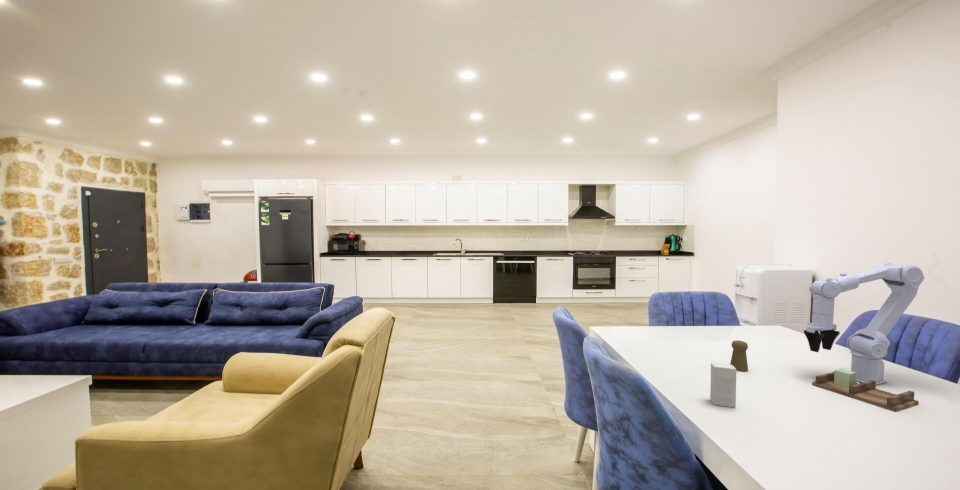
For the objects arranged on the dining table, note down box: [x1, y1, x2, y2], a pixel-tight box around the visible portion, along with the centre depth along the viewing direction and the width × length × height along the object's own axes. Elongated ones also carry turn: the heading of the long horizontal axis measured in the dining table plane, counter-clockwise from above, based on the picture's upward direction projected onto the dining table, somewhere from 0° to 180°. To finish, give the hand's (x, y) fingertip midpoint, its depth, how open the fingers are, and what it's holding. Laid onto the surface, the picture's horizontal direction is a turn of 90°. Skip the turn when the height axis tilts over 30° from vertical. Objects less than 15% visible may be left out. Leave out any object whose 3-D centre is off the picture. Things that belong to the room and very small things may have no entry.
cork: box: [729, 340, 749, 373], centre depth 147 cm, size 6×6×11 cm
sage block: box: [834, 368, 857, 389], centre depth 129 cm, size 4×4×5 cm
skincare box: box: [709, 362, 737, 408], centre depth 117 cm, size 6×4×12 cm
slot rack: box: [811, 371, 920, 413], centre depth 125 cm, size 14×21×4 cm, turn 22°
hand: (820, 350), depth 138 cm, fingers open, 7 cm apart
